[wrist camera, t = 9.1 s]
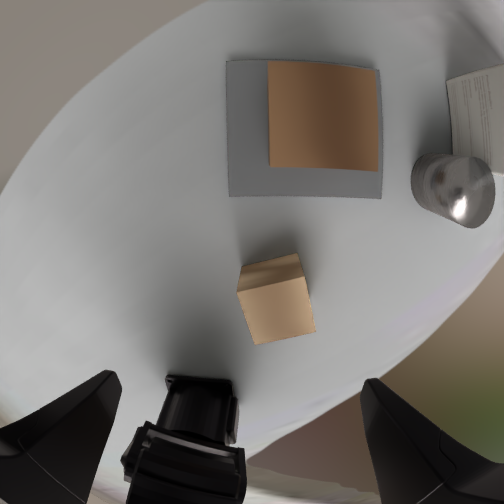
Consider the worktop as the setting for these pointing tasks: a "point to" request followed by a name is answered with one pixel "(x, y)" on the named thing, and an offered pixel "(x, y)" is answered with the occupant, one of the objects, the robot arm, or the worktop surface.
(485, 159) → the supplement box
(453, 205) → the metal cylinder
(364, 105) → the walnut block
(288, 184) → the slate mat
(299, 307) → the beech block
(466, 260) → the worktop surface
